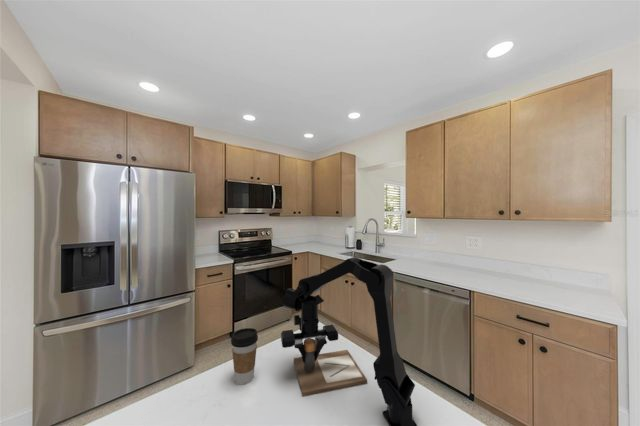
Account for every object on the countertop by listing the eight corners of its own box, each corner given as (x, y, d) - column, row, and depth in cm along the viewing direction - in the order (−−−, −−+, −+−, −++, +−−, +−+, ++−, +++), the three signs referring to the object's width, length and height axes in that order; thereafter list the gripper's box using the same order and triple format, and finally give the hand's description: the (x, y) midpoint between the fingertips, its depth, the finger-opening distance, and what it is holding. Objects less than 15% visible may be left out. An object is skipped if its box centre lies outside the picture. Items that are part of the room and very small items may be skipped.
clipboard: (367, 383, 74) (367, 378, 74) (302, 396, 68) (302, 391, 68) (347, 352, 90) (347, 349, 90) (293, 361, 85) (293, 357, 85)
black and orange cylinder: (316, 371, 76) (316, 343, 76) (304, 373, 75) (304, 345, 75) (313, 363, 80) (313, 337, 80) (302, 365, 79) (302, 339, 79)
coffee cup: (249, 389, 71) (250, 340, 71) (225, 385, 73) (225, 337, 73) (262, 371, 79) (262, 327, 79) (239, 368, 81) (240, 325, 81)
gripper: (329, 302, 88) (329, 344, 88) (279, 307, 83) (279, 351, 83) (338, 315, 77) (338, 362, 77) (282, 321, 72) (282, 371, 72)
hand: (309, 360), depth 77 cm, fingers closed on black and orange cylinder, 3 cm apart
